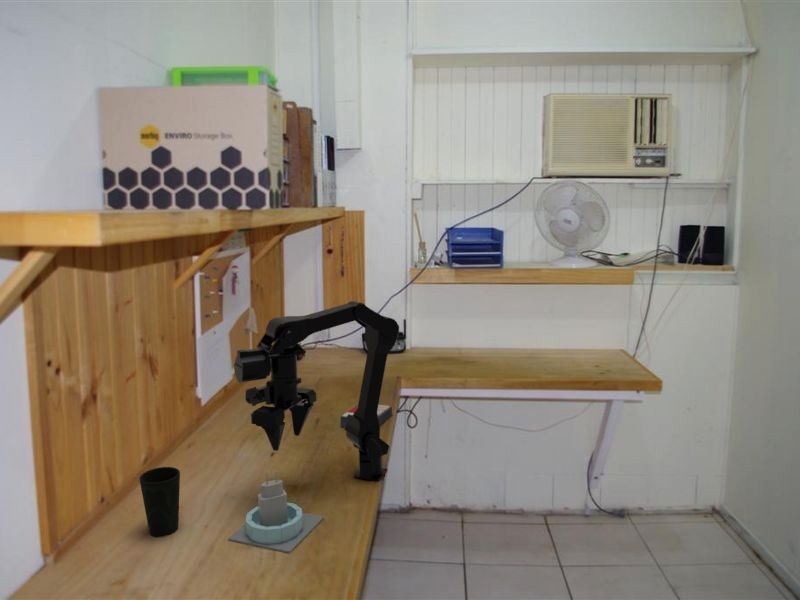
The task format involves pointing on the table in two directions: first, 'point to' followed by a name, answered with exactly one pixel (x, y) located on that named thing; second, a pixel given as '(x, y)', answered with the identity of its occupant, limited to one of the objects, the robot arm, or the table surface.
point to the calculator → (382, 412)
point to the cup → (161, 500)
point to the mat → (307, 526)
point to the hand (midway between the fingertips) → (286, 442)
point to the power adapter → (272, 503)
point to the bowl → (274, 527)
